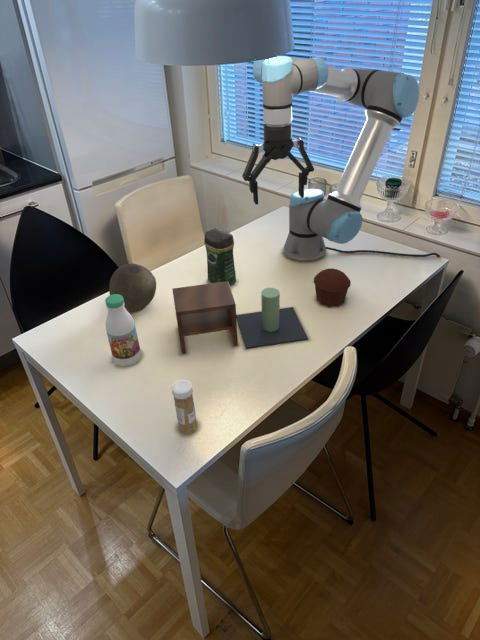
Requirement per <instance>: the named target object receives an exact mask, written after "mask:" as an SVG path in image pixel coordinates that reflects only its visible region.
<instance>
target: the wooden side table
mask: <svg viewBox="0 0 480 640" xmlns="http://www.w3.org/2000/svg"><path fill="white" fill-rule="evenodd" d="M171 290H172V296H173V303H174V309H175V311H174V312H175V316H176V322H177V324H176V325H177V330H178V338H179V343H180V344H179V345H180V351H181V355H185V354H187V350H186V342H185V337H190V336H197V335H203V334H209V333H210V334H211V333H217V332H223V331H229V334H230V338H231V342H232V344H233V347H238V346H239V341H238V321H237V318H236V315H237V303H236V301H235V298H234V294H233V291H232V289H231V286H230V285H229V282H228V281H225V282H217V283H210V282H209V283H203V284H196V285H195V284H194V285H189V286H182V287H181V286H180V287H173V288H172V289H171Z"/></svg>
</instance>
